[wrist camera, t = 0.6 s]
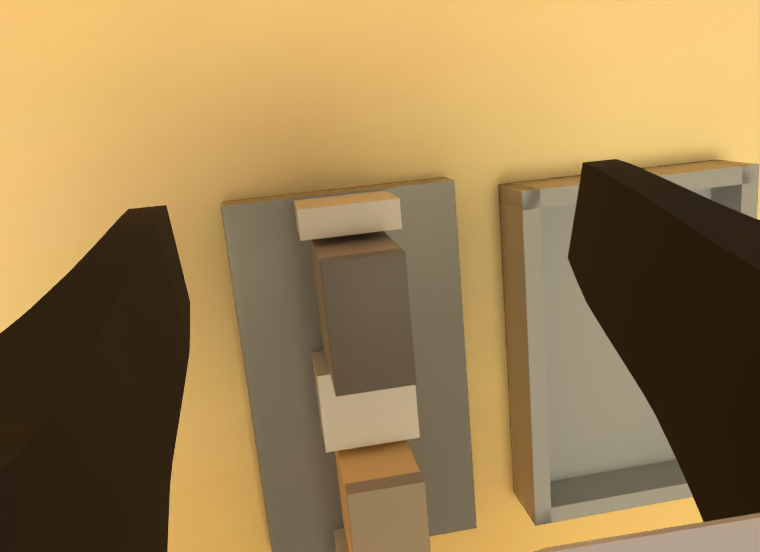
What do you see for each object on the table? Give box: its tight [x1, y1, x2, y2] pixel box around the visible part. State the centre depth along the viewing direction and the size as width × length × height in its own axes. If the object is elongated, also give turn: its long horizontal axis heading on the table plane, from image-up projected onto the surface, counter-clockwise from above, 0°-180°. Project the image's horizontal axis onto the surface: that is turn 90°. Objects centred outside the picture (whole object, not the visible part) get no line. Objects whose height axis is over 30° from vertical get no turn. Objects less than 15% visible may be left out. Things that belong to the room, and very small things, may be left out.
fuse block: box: [221, 177, 477, 552], centre depth 31 cm, size 10×17×4 cm, turn 5°
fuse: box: [335, 440, 431, 552], centre depth 30 cm, size 5×3×6 cm, turn 5°
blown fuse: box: [310, 231, 417, 397], centre depth 28 cm, size 5×3×6 cm, turn 5°
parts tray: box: [499, 160, 759, 525], centre depth 34 cm, size 16×11×3 cm
